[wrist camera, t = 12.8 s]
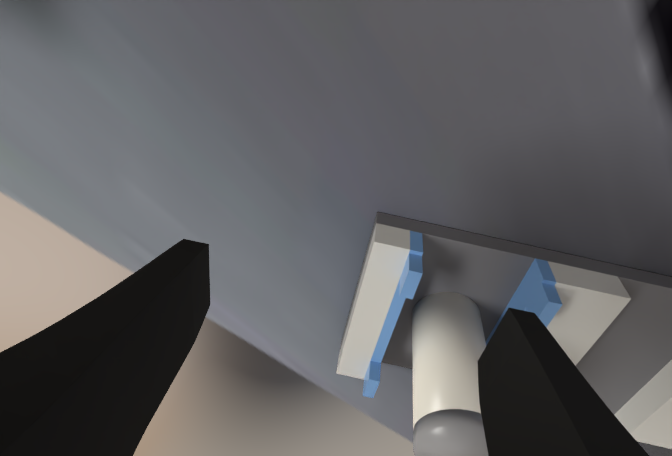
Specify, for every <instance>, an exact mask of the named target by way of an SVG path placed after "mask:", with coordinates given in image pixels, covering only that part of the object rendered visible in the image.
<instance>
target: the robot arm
mask: <svg viewBox="0 0 672 456" xmlns="http://www.w3.org/2000/svg"><path fill="white" fill-rule="evenodd" d="M209 306H210V279H209V244H205V243H200V242H196V241H191V240H186V239H183V240H181V241H180V242H178V243H177V244H175V245H174V246H172V247H171V248H169V249H168V250H167V251H165V252H164V253H162V254H161V255H159V256H158V257H157V258H155V259H154V260H152V261H151V262H150V263H148V264H147V265H145V266H144V267H142V268H141V269H139V270H138V271H137V272H135V273H134V274H132V275H131V276H129V277H128V278H126V279H125V280H123V281H122V282H120V283H119V284H118V285H116V286H114V287H113V288H111V289H110V290H108V291H107V292H106V293H104V294H102V295H101V296H99V297H98V298H96V299H94V300H93V301H91V302H89V303H88V304H86V305H85V306H83V307H81V308H80V309H78V310H76V311H75V312H73V313H71V314H70V315H68V316H66V317H65V318H63V319H62V320H60V321H58V322H56V323H55V324H53V325H51V326H49V327H48V328H46V329H44V330H42V331H41V332H39V333H37V334H35V335H33V336H32V337H30V338H28V339H26V340H24V341H22V342H20V343H18V344H16V345H14V346H12V347H10V348H8V349H6V350H4V351H2V352H1V353H0V456H133V454H134V452H135V450H136V448H137V446H138V444H139V442H140V440H141V438H142V436H143V434H144V432H145V430H146V428H147V426H148V425H149V423H150V421H151V419H152V417H153V416H154V414H155V412H156V410H157V409H158V407H159V405H160V403H161V401H162V400H163V398H164V396H165V394H166V393H167V391H168V389H169V387H170V385H171V384H172V382H173V380H174V378H175V376H176V375H177V373H178V371H179V370H180V367H181V366H182V364H183V362H184V361H185V359H186V357H187V355H188V353H189V352H190V350H191V348H192V346H193V344H194V342H195V340H196V338H197V335H198V333H199V331H200V328H201V326H202V324H203V321H204V319H205V316H206V314H207V311H208V309H209ZM478 387H479V403H480V409H481V415H482V421H483V427H484V433H485V439H486V444H487V450H488V455H489V456H649V455H648V454H647V453H646V452H645V450H644V449H643V448H642V447H641V446H640V445H639V443H638V442H637V441H636V440H635V439H634V438H633V436H632V435H631V434H630V433H629V432H628V431H627V430H626V428H625V427H624V426H623V425H622V424H621V423H620V421H619V420H618V419H617V418H616V417H615V415H614V414H613V413H612V412H611V410H610V409H609V408H608V407H607V406H606V404H605V403H604V402H603V401H602V399H601V398H600V397H599V396H598V394H597V393H596V392H595V391H594V389H593V388H592V387H591V385H590V384H589V383H588V382H587V380H586V379H585V378H584V376H583V375H582V374H581V373H580V371H579V370H578V369H577V367H576V366H575V365H574V363H573V362H572V361H571V360H570V358H569V357H568V356H567V354H566V353H565V352H564V350H563V349H562V348H561V346H560V345H559V344H558V342H557V341H556V340H555V338H554V337H553V336H552V334H551V333H550V332H549V331H548V329H547V328H546V327H545V325H544V324H543V323H542V322H541V320H540V319H539V318H538V317H537V315H536V314H535V313H533V312H528V311H523V310H518V309H514V308H508V310H507V311H506V313H505V315H504V316H503V318H502V320H501V322H500V323H499V325H498V327H497V329H496V330H495V332H494V334H493V335H492V337H491V339H490V341H489V342H488V344H487V346H486V348H485V349H484V351H483V353H482V354H481V356H480V358H479V360H478Z"/></svg>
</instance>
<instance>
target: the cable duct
mask: <svg viewBox="0 0 672 456" xmlns="http://www.w3.org/2000/svg"><path fill="white" fill-rule="evenodd" d="M438 292H454V293H458V294H462V295H464V296H466V297H468V298H470V299H471V300H472V301H473V302H475V304H476V305H477V306H478V308H479V311H480V316H481V321H482V326H483V332H484V337H485V342H486V346H487V344H488V342H489V341H490V339H491V337H492V335H493V334H494V332H495V330H496V329H497V327H498V325H499V323H500V322H501V320H502V318H503V316H504V315H505V313H506V311H507V310H508V308H514V309H518V310H523V311H528V312H533V313H535V314H536V315H537V317H538V318H539V319H540V320H541V322H542V323H543V324H544V325H545V327H546V328H547V329H548V331H549V332H550V333H551V334H552V336H553V337H554V338H555V340H556V341H557V342H558V344H559V345H560V346H561V348H562V349H563V350H564V352H565V353H566V354H567V356H568V357H569V358H570V360H571V361H572V362H573V363H574V365H575V366H576V367H577V369H578V370H579V371H580V373H581V374H582V375H583V376H584V378H585V379H586V380H587V382H588V383H589V384H590V385H591V387H592V388H593V389H594V391H595V392H596V393H597V394H598V396H599V397H600V398H601V399H602V401H603V402H604V403H605V404H606V406H607V407H608V408H609V409H610V410H611V412H612V413H613V414H614V415H615V417H616V418H617V419H618V420H619V421H620V423H621V424H622V425H623V426H624V427H625V428H626V430H627V431H628V432H629V433H630V434H631V435H632V436H633V438H634V439H635V440H636V441H638V442H643V443H647V444H652V445H656V446H661V447H665V448H669V449H671V448H672V277H669V276H665V275H660V274H656V273H651V272H647V271H642V270H638V269H633V268H629V267H624V266H620V265H615V264H611V263H606V262H602V261H597V260H593V259H588V258H584V257H579V256H575V255H570V254H566V253H561V252H557V251H552V250H548V249H543V248H538V247H534V246H529V245H525V244H520V243H516V242H511V241H507V240H502V239H498V238H493V237H489V236H484V235H480V234H475V233H471V232H466V231H462V230H457V229H453V228H448V227H444V226H439V225H435V224H430V223H426V222H421V221H417V220H412V219H408V218H403V217H398V216H394V215H389V214H385V213H380V212H377V215H376V218H375V222H374V226H373V229H372V233H371V236H370V240H369V243H368V247H367V251H366V254H365V258H364V261H363V265H362V269H361V272H360V276H359V279H358V283H357V286H356V290H355V294H354V297H353V301H352V304H351V308H350V312H349V315H348V319H347V322H346V326H345V330H344V333H343V337H342V341H341V347H340V353H339V360H338V366H337V372H336V373H337V374H342V375H346V376H351V377H355V378H359V379H364V387H363V396H366V397H370V398H373V397H374V395H375V392H376V390H377V387H378V385H379V382H380V368H381V362H383V363H388V364H392V365H397V366H401V367H406V368H410V369H413V354H412V312H413V309H414V307H415V305H416V304H417V303H418V302H419V301H420V300H421V299H422V298H424V297H426V296H428V295H431V294H434V293H438Z"/></svg>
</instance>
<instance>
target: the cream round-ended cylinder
mask: <svg viewBox="0 0 672 456" xmlns="http://www.w3.org/2000/svg"><path fill="white" fill-rule="evenodd" d="M485 348H486V342H485V337H484V332H483V326H482V321H481V316H480V311H479V308H478V306H477V305H476V304H475V302H473V301H472V300H471V299H470V298H468V297H466V296H464V295H462V294H458V293H454V292H438V293H434V294H431V295H428V296H426V297H424V298H422V299H421V300H420V301H419V302H418V303H417V304H416V305H415V307H414V309H413V312H412V354H413V450H414V455H415V456H489V455H488V450H487V444H486V439H485V433H484V427H483V421H482V415H481V409H480V403H479V387H478V360H479V358H480V356H481V354H482V353H483V351H484V349H485Z"/></svg>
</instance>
